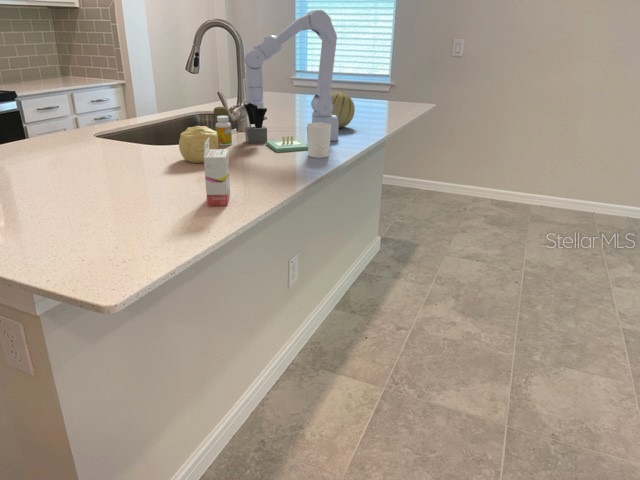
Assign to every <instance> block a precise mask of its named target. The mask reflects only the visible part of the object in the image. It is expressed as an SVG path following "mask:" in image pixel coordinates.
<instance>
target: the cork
mask: <svg viewBox="0 0 640 480" xmlns="http://www.w3.org/2000/svg"><path fill="white" fill-rule="evenodd" d="M228 114H229V110H228V108H227V107H225V106H217V107H214V109H213V115H214V116H215V117H214V118H215V119H214V131H216V126H215V125H216V123H218V121H217V116H229V115H228Z"/></svg>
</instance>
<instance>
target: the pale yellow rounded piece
mask: <svg viewBox="0 0 640 480" xmlns="http://www.w3.org/2000/svg"><path fill="white" fill-rule="evenodd" d="M208 137H209V150H210V149H219V145H218V135H217V132H216V131H215V129H212V128H209V127H207V126H205V125H203V126H202V125H201V126H200V125H196V126H191V127H190V126H188V127H187V128H186V129H185V131H182V132H181V133H180V137H179V141H178V147H179V151H180V155H181V156H182V157H183V159H184V160H185V161H187V162H189V163H194V164H200V163H202V164H204V143H205V142H206V140H207V139H208ZM206 148H207V146H206Z"/></svg>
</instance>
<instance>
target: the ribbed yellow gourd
mask: <svg viewBox="0 0 640 480" xmlns="http://www.w3.org/2000/svg"><path fill="white" fill-rule="evenodd" d="M331 93H332V103H333V111H332V112H331V114H332V115H336V116H337V118H338V123H339V125H338V129H341V127H342V128H345V127H346V126H348V125H349V124H350V123H351V122H352V121H353V118H354V115H355V113H356V111H355V110H356V109H355V108H356V107H355V103H354V100H353V99H352V97H350V96H349V95H348V94H346V93H344V90H342V89H340V91H331Z"/></svg>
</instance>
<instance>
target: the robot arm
mask: <svg viewBox="0 0 640 480" xmlns="http://www.w3.org/2000/svg"><path fill="white" fill-rule="evenodd" d="M309 30H310V31H312V32H314V33H315V34H316V35H317V36H318V37H319V39H320V40H321V50H320V56H319V57H320V59H319V65H318V67H319V68H318V74H317V75H318V76H317V85H316V86H317V87H316V89H315V90H314V96H313V97H312V100H311V104H310V105H311V108H312V110H313V112H312V114H311V123H327V124H330V125H331V137H330V142H332V141H333V142H335V141H336V142H337V141H339V140H340V139H339V128H338V125H339V123H338V118H337V116H336V115H332V114H331V112H332V111H333V103H332V93H331V92H332V83H333V72H334V65H335V56H336V49H337V42H338V36H337V32H336V30H335V28H334V25H333V23H332V18H331V16H330V15H329V14H328V13H326V11H325V10H322V9H316V10H315V9H314V10H313V9H312V10H309V11H308V12H307V13H306V14H303V15H301V16H299V17H298V18H296V19H295V20H294V21H293V22H292V23H291V24H289V25H288V26H287V27H285V28H283V30H282V31H281V32H280V33H278V34H277V35H272V34H271V35H269V36H268V35H266V36H264V37H263V39H264V40H263V41H261V42H259V43H258V44H255V45H253V46H252V48H253V49H250V50H249V51H247V52H246V53H245V55H244V58H243V60H244V63H245V64H246V66H245V67H246V68H245V70H246V73H245V83H246V84H245V86H246V99H243V103H244V104H243V107H244V109H245V111H246V114H247V117H248V122H249V124H250V125H254V127H256V128H262V126H263V124H264V119H265V115H266V112H268V111H267V110H268V108H267V107H264V87H263V86H264V84H263V83H264V82H263V81H264V78H263V75H264V74H263V64H264V62H267V61H268V60H269V59H270V58H272V57H273V56H275V55H276V54H278V53H279V52H280V51H281V49H282V45H283V44H284V43H286V42H287V41H289V40H291V38H293V37H294V36H295V35H297V34H298V33H300V32H301V31H309Z"/></svg>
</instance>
